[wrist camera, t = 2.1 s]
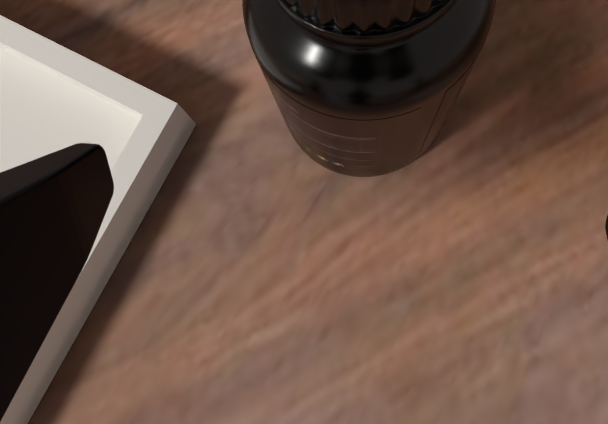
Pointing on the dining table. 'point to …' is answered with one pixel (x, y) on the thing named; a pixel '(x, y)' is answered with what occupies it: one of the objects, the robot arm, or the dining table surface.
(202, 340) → the dining table surface
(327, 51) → the supplement bottle
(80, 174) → the robot arm
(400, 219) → the dining table surface
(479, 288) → the dining table surface
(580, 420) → the dining table surface
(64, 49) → the tray
